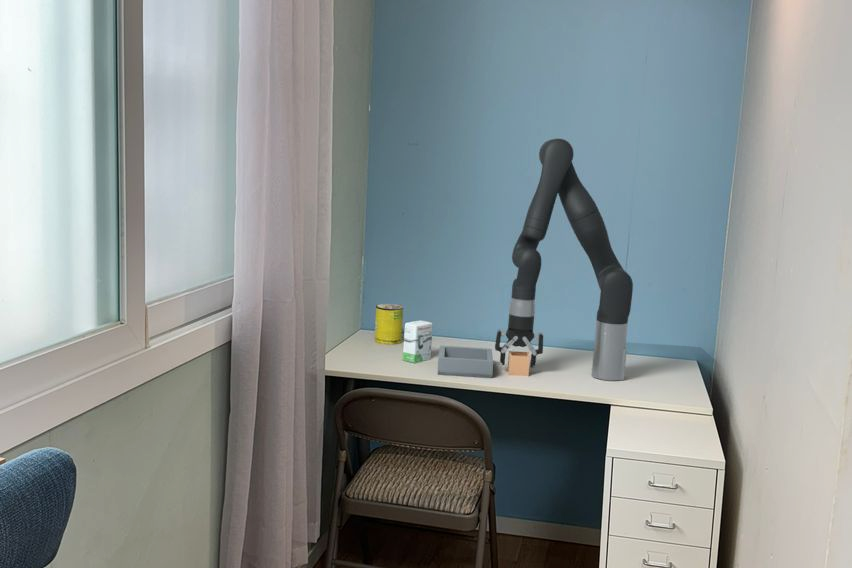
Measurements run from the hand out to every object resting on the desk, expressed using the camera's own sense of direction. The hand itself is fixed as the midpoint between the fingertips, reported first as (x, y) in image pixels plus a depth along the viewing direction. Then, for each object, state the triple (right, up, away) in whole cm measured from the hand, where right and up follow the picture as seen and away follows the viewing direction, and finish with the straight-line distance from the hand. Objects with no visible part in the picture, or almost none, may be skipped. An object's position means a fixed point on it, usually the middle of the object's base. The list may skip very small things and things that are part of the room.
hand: (517, 365), depth 270 cm
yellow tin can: (-40, +5, +31) cm, 51 cm away
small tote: (0, -2, 0) cm, 2 cm away
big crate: (-16, -1, +1) cm, 16 cm away
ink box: (-30, +1, +9) cm, 32 cm away
